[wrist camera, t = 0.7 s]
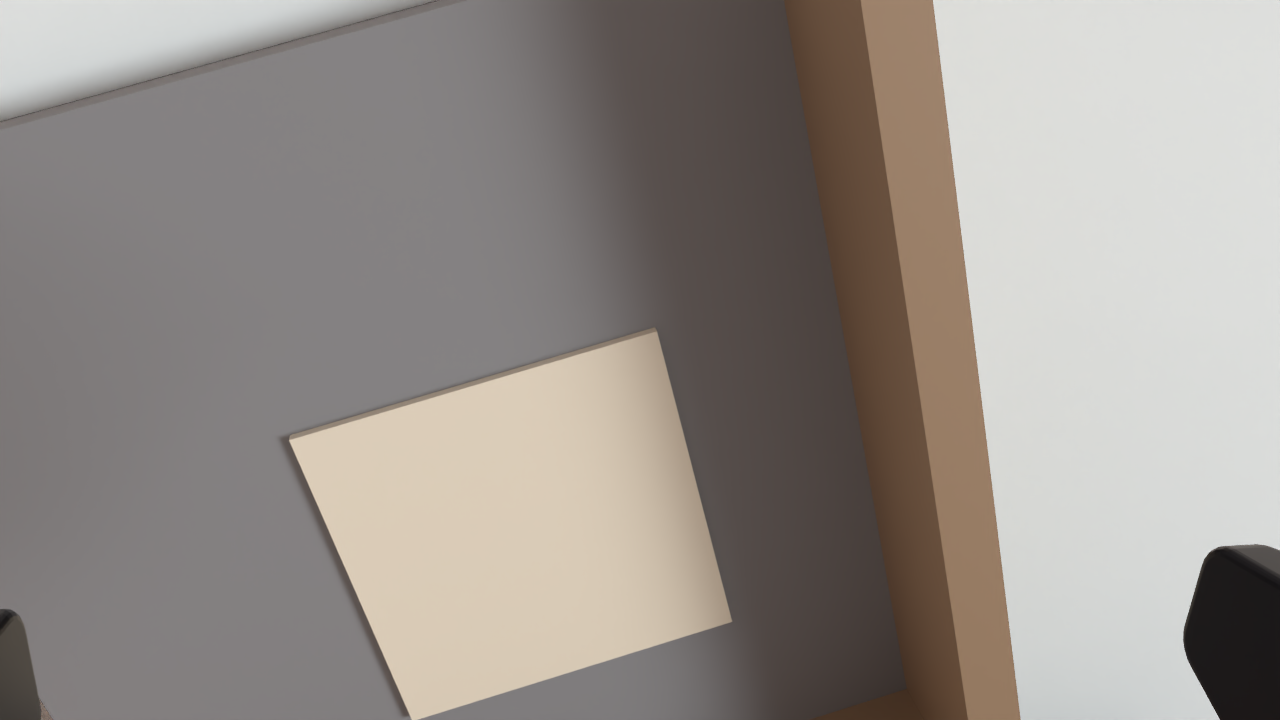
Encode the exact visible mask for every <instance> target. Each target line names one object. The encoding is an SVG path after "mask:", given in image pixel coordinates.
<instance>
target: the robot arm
mask: <svg viewBox="0 0 1280 720" xmlns="http://www.w3.org/2000/svg"><path fill="white" fill-rule="evenodd" d="M1183 641H1184V649H1185V652H1186V656H1187V659H1188V661H1189V663H1190V665H1191V667H1192V669H1193V671H1194V673H1195V675H1196V676H1197V678H1198V680H1199V682H1200V684H1201V686H1202V687H1203V689H1204V691H1205V693H1206V695H1207V697H1208V698H1209V700H1210V702H1211V704H1212V706H1213V708H1214V709H1215V711H1216V713H1217V715H1218V717H1219V719H1220V720H1280V550H1277V549H1275V548H1272V547H1269V546H1266V545H1258V544H1254V545H1236V546H1221V547H1218V548H1216V549H1214V550H1212V551H1211V552H1210V553H1209V554H1208V555H1207V556H1206V558H1205V559H1204V562H1203V564H1202V567H1201V571H1200V574H1199V578H1198V581H1197V585H1196V588H1195V592H1194V595H1193V599H1192V602H1191V606H1190V609H1189V613H1188V616H1187V619H1186V623H1185V627H1184V635H1183ZM0 720H41V709H40V701H39V696H38V691H37V686H36V680H35V675H34V670H33V665H32V660H31V655H30V650H29V645H28V639H27V634H26V630H25V626H24V623H23V621H22V619H21V618H20V616H19V615H18V614H17V613H16V612H14V611H13V610H11V609H0Z"/></svg>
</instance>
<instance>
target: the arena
mask: <svg viewBox="0 0 1280 720" xmlns="http://www.w3.org/2000/svg"><path fill="white" fill-rule="evenodd" d="M0 609H11V610H13V611H14V612H16V613H17V614H18V615H19V616H20V618H21V619H22V621H23V623H24V626H25V630H26V634H27V639H28V645H29V650H30V655H31V660H32V665H33V670H34V675H35V680H36V686H37V691H38V696H39V698H40V700H41V701H42V703H43V705H44V706H45V708H46V709H47V711H48V713H49V714H50V716H51V717H52V719H53V720H1020V712H1019V704H1018V696H1017V687H1016V679H1015V671H1014V663H1013V655H1012V646H1011V638H1010V630H1009V622H1008V614H1007V605H1006V597H1005V589H1004V581H1003V573H1002V564H1001V556H1000V548H999V540H998V532H997V523H996V515H995V507H994V499H993V491H992V482H991V474H990V466H989V458H988V450H987V441H986V433H985V425H984V417H983V409H982V400H981V392H980V384H979V376H978V368H977V359H976V351H975V343H974V335H973V327H972V318H971V310H970V302H969V294H968V286H967V277H966V269H965V261H964V253H963V245H962V236H961V228H960V220H959V212H958V204H957V195H956V187H955V179H954V171H953V163H952V154H951V146H950V138H949V130H948V122H947V113H946V105H945V97H944V89H943V81H942V72H941V64H940V56H939V48H938V40H937V31H936V23H935V15H934V7H933V0H438V1H434V2H431V3H427V4H424V5H420V6H416V7H413V8H409V9H406V10H402V11H398V12H395V13H391V14H388V15H384V16H380V17H377V18H373V19H370V20H366V21H362V22H359V23H355V24H352V25H348V26H344V27H341V28H337V29H334V30H330V31H326V32H323V33H319V34H316V35H312V36H308V37H305V38H301V39H298V40H294V41H290V42H287V43H283V44H279V45H276V46H272V47H269V48H265V49H261V50H258V51H254V52H251V53H247V54H243V55H240V56H236V57H233V58H229V59H225V60H222V61H218V62H215V63H211V64H207V65H204V66H200V67H197V68H193V69H189V70H186V71H182V72H179V73H175V74H171V75H168V76H164V77H161V78H157V79H153V80H150V81H146V82H143V83H139V84H135V85H132V86H128V87H125V88H121V89H117V90H114V91H110V92H107V93H103V94H99V95H96V96H92V97H89V98H85V99H81V100H78V101H74V102H70V103H67V104H63V105H60V106H56V107H52V108H49V109H45V110H42V111H38V112H34V113H31V114H27V115H24V116H20V117H16V118H13V119H9V120H6V121H2V122H0Z"/></svg>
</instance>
